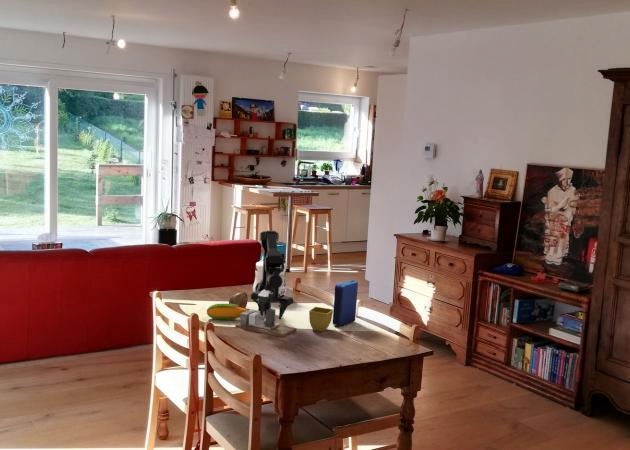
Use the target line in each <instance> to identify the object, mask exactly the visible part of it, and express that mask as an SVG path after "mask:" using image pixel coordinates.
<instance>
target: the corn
mask: <svg viewBox="0 0 630 450" xmlns="http://www.w3.org/2000/svg"><path fill="white" fill-rule="evenodd" d="M234 306H239V305H236V304H229V303H215V304H212V305H210V306H209V307H208V308H207V309H206V314H207V316H208V317H209V318H211V319H213V320H219V321H221V320H222V321H234V320H236V319H240V313H243V312H246V311H248V309H247V308H240V307H234Z"/></svg>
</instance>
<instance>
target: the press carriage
mask: <svg viewBox="0 0 630 450" xmlns="http://www.w3.org/2000/svg"><path fill="white" fill-rule="evenodd" d="M264 313H265V312H264ZM264 313H263V316H261V314H260V311H258V310H257V312H254V313H252V314H249V326H253V327H258V328H263V329H267V330H271V329H274V328H276V327H278V326H279V325H281V324H280V323H276V309H275V308H274V309H273V308H271V309H270V308H269V309H267V310H266V315H265V314H264Z"/></svg>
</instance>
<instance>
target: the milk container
mask: <svg viewBox="0 0 630 450" xmlns="http://www.w3.org/2000/svg"><path fill="white" fill-rule="evenodd" d="M284 267H285V268H284V269H283V272H280V276H281V278H282V285H281V287H279V294H280V296H279V297H280V298H282V297H284V296H286V293H287V285H286V264H285V263H284ZM280 268H281V267H280ZM262 274H263V260H261V261H257V262H256V263H255V274H254V276H255V277H254V282H253V285H252V293H253V292H256V291H257V288H258V287H259V283H260V281H261V280H262Z"/></svg>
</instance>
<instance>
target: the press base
mask: <svg viewBox="0 0 630 450" xmlns="http://www.w3.org/2000/svg"><path fill="white" fill-rule="evenodd" d="M247 310H248V309H247ZM257 311H258V309H253V308H252V309H249V310H248V311H246V312H243V313H240V318H239V322H238V323H236V324H235V325H234V327H235V328H239V329H243V330H248V331H252V332H258V333H261V334H267V335H269V336H270V335H271V336H276V337H280V338H283V337H286V336H287V335H290V334H291V333H294V332H295V331H297V328H296V327H292V326H286V325H283V324H280V325H279V326H278V327H276V328H274V329H271V330H267V329H263V328H258V327H253V326H249V314H252V313H254V312H257Z"/></svg>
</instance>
